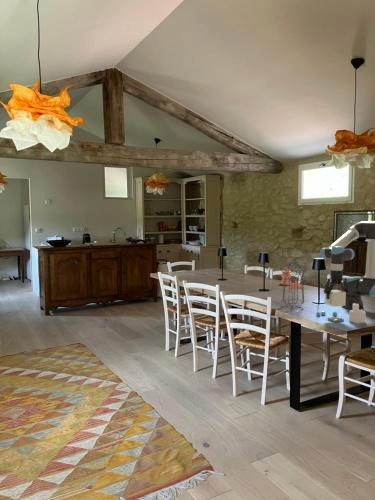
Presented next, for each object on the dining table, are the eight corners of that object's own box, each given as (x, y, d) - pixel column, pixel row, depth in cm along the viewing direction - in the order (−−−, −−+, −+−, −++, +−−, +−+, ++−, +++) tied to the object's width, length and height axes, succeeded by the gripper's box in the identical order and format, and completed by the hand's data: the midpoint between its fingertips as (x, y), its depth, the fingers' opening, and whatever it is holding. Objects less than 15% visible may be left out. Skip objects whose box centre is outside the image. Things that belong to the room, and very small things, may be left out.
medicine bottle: (356, 320, 258) (357, 302, 257) (365, 322, 252) (366, 304, 251) (348, 321, 256) (349, 303, 255) (357, 323, 249) (357, 305, 248)
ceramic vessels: (311, 290, 368) (311, 271, 366) (291, 291, 363) (291, 271, 361) (293, 285, 402) (293, 266, 400) (274, 285, 397) (274, 267, 395)
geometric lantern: (289, 310, 287) (290, 263, 285) (278, 306, 302) (279, 261, 300) (308, 309, 291) (309, 262, 289) (296, 304, 306) (297, 260, 304)
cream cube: (335, 302, 263) (336, 289, 263) (345, 305, 255) (345, 291, 254) (324, 303, 260) (325, 290, 260) (334, 306, 252) (334, 292, 251)
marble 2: (325, 315, 269) (321, 316, 271) (326, 314, 271) (322, 315, 273) (323, 311, 269) (319, 312, 271) (325, 310, 271) (321, 311, 273)
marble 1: (322, 315, 268) (319, 315, 271) (320, 311, 268) (318, 311, 271) (318, 316, 267) (315, 316, 270) (317, 312, 267) (314, 312, 270)
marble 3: (335, 316, 270) (333, 312, 271) (338, 314, 268) (336, 310, 269) (333, 317, 269) (330, 313, 270) (336, 315, 266) (334, 311, 268)
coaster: (338, 318, 264) (338, 316, 264) (347, 321, 254) (347, 320, 254) (324, 318, 261) (324, 317, 261) (333, 322, 252) (333, 321, 252)
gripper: (348, 268, 261) (347, 301, 263) (318, 269, 257) (317, 303, 258) (355, 270, 254) (354, 304, 255) (324, 271, 249) (323, 305, 251)
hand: (335, 303), depth 257 cm, fingers closed on cream cube, 9 cm apart
